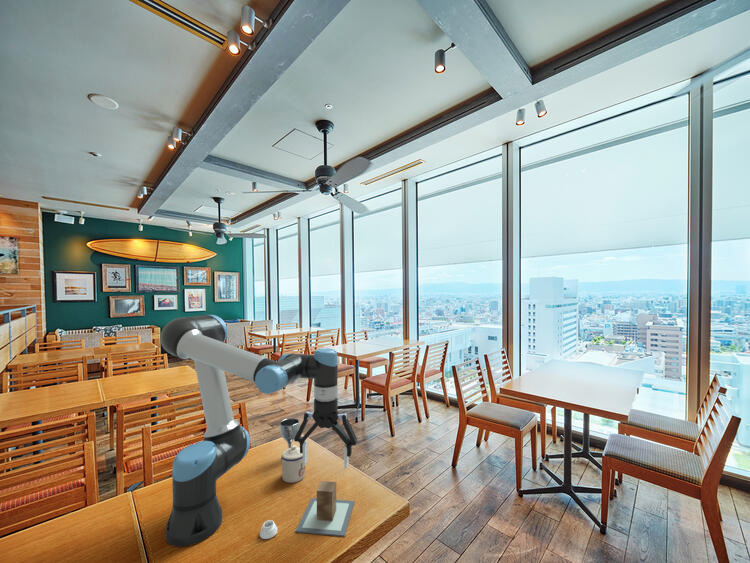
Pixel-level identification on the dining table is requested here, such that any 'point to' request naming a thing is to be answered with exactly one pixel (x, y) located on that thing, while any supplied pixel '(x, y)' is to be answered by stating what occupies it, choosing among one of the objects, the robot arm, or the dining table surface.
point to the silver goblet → (289, 429)
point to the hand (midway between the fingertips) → (325, 464)
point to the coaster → (326, 527)
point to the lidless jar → (268, 530)
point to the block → (326, 501)
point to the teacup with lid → (292, 465)
